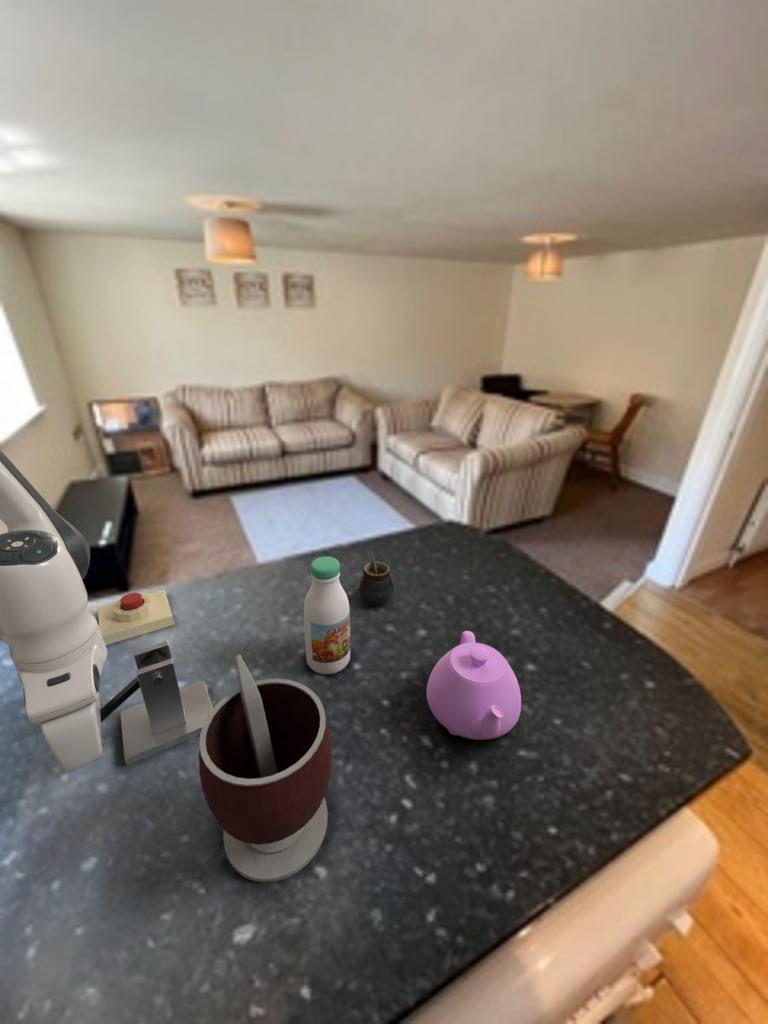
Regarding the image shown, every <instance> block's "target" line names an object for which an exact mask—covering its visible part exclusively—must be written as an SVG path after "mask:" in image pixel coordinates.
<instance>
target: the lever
mask: <svg viewBox="0 0 768 1024" xmlns="http://www.w3.org/2000/svg"><path fill="white" fill-rule="evenodd" d="M168 659H169V658H167V657H165V656H164V655H162V654H160V653H158V652H157V651H155V652H154V653H153V654H152V655H151V656H150V657H149V658H147V659H146V660H145V661H144V662H143V663H142V664H141V665H140V669H141V668H144V667H147V666H150V665H153V664H156V663H159V662H162V661H165V660H168ZM139 689H140V685H139V682H138V678H137V676H136V677H135V678H133V680H131V681H130V682H129V683H128V684H126V686H124V688H122V689H121V690H120V691H119V692H118V693H117V694H115V695H114V697H112V698H111V699H110V700H109V701H108V702H107V703H106V704H105V705H103V707H102V706H101V709H100V717H101V723H102V722H103V721H104V720H106V719H107V718H108V717H109V716H110V715H111V714H112V713H113V712H115V711H116V710H117V709H118V708H119V707H120V706H121V705H122V704H123V703H125V702H126V701H127V700H128V699H129V698H130V697H131V696H132V695H133V694H134V693H136V692H137V691H138V690H139Z"/></svg>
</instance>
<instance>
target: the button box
mask: <svg viewBox="0 0 768 1024" xmlns="http://www.w3.org/2000/svg"><path fill="white" fill-rule="evenodd" d="M140 594H141V595H142V599H143V605H142V606H141V607H139V608H137V609H134V610H131V611H125V610H123V609H122V606H121V602H120V600H121V598H120V599H118V600H117V601H115V602H111V603H107V604H104V605H100V606H98V607H97V616H98V617H97V618H98V620H97V621H98V626H99V628H100V631H101V634H102V637H103V640H104V642H105V645H106V646H109V645H111V644H115V643H119V642H121V641H122V642H123V641H125V640H128V639H132V638H136V637H139V636H142V635H146V634H148V633H149V634H150V633H152V632H156V631H159V630H162V629H165V628H169V627H172V626H175V624H174V618H173V614H172V611H171V607H170V603H169V600H168V596H167V593H166V589H161V590H157V591H152V592H149V593H140Z"/></svg>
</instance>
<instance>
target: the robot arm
mask: <svg viewBox="0 0 768 1024" xmlns="http://www.w3.org/2000/svg"><path fill="white" fill-rule="evenodd" d="M0 521H1V522H2V523H4V525H5V526H6V528H7V532H5V533H1V534H0V641H1V642H3V643H5V644H6V645H7V646H8V650H9V656H10V659H11V661H12V663H13V665H14V667H15V669H16V673H17V676H18V679H19V681H20V683H21V685H22V687H23V690H22V691H23V702H24V708H25V715H26V717H27V719H28V721H29V723H30V724H31V725H36V724H39V727H40V731H41V734H42V736H43V738H44V740H45V742H46V744H47V745H48V747H49V749H50V751H51V753H52V754H53V755H54V758H55V759H56V761H57V762H58V764H59V765H60V767H61V768H62V769H63V770H64V771H68V772H72V771H76V770H79V769H81V768H84V767H86V766H88V765H90V764H92V763H95V762H97V761H98V760H100V759H101V758H102V756H103V752H104V743H103V738H102V722H101V717H100V709H101V708H102V706H101V701H100V700H101V699H100V682H101V675H102V672H103V668H104V663H105V662H106V660H107V657H108V648H107V645H105V642H104V640H103V637H102V634H101V631H100V628H99V622H98V620H97V619H96V616H95V615H94V614H93V612H91V610H90V608H89V606H88V600H89V597H88V596H89V595H88V591H87V589H86V585H85V584H84V581H83V580H84V579H85V577H86V576H87V574H88V570H89V568H90V560H91V548H90V544H89V542H88V540H87V539H86V538H85V536H84V535H83V534H82V533H81V531H79V530H78V529H77V528H76V527H75V526H74V525H72V524H71V523H70V522H69V521H67V520H66V519H65V518H64V517H62V516H61V515H60V514H59V513H58V512H57V511H56V510H55V509H54V508H53V507H52V506H51V505H50V504H49V502H47V500H46V499H45V498H44V497H43V496H42V495H41V494H40V493H39V492H38V490H37V489H36V488H35V487H34V486H33V485H32V483H30V481H29V480H28V479H27V478H26V477H25V476H24V475H23V473H22V472H21V471H20V470H19V468H17V466H16V465H15V464H14V463H13V461H11V460H10V458H9V457H8V456H7V455H5V453H4V452H3V451H2V450H1V449H0Z"/></svg>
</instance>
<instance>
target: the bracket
mask: <svg viewBox="0 0 768 1024" xmlns="http://www.w3.org/2000/svg"><path fill="white" fill-rule="evenodd" d="M155 651H157V652H158V653H160V654H162V655H164V656H165V657H167V658H169V659H168V660H165V661H162V662H159V663H156V664H153V665H150V666H147V667H144V668H141V669H140V665H141V664H142V663H143V662H144V661H145V660H146V659H147V658H149V657H150V656H151V655H152V654H153V653H154V652H155ZM132 653H133V659H134V662H135V665H136V668H137V669H136V670H135V673H136V677H137V678H138V682H139V685H140V688H139V689H140V691H141V696H142V699H143V702H141V703H139V704H136V705H133V706H131V707H127V708H125V709H123V710H120V711H119V715H120V716H119V717H120V726H121V736H122V746H123V747H122V748H123V756H124V757H123V758H124V763H125V765H126V766H129V765H132V764H134V763H136V762H139V761H141V760H143V759H146V758H148V757H150V756H153V755H156V754H158V753H160V752H162V751H165V750H168V749H169V748H172V747H174V746H177V745H180V744H181V743H184V742H186V741H189V740H191V739H193V738H197V737H198V736H200V733H201V730H202V727H203V724H204V722H205V720H206V718H207V717H208V715H209V713H210V712H211V711H212V710H213V708H214V707H213V705H212V704H213V703H212V701H211V698H210V695H209V692H208V689H207V685H206V681H205V680H201V681H199V682H196V683H193V684H190V685H188V686H185V687H182V688H180V687H179V682H178V679H177V674H176V669H175V665H174V661H173V657H172V654H171V649H170V645H169V640H166V641H165V640H164V641H162V642H159V643H155V644H152V645H149V646H146V647H142V648H140V649H136V650H133V652H132Z"/></svg>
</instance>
